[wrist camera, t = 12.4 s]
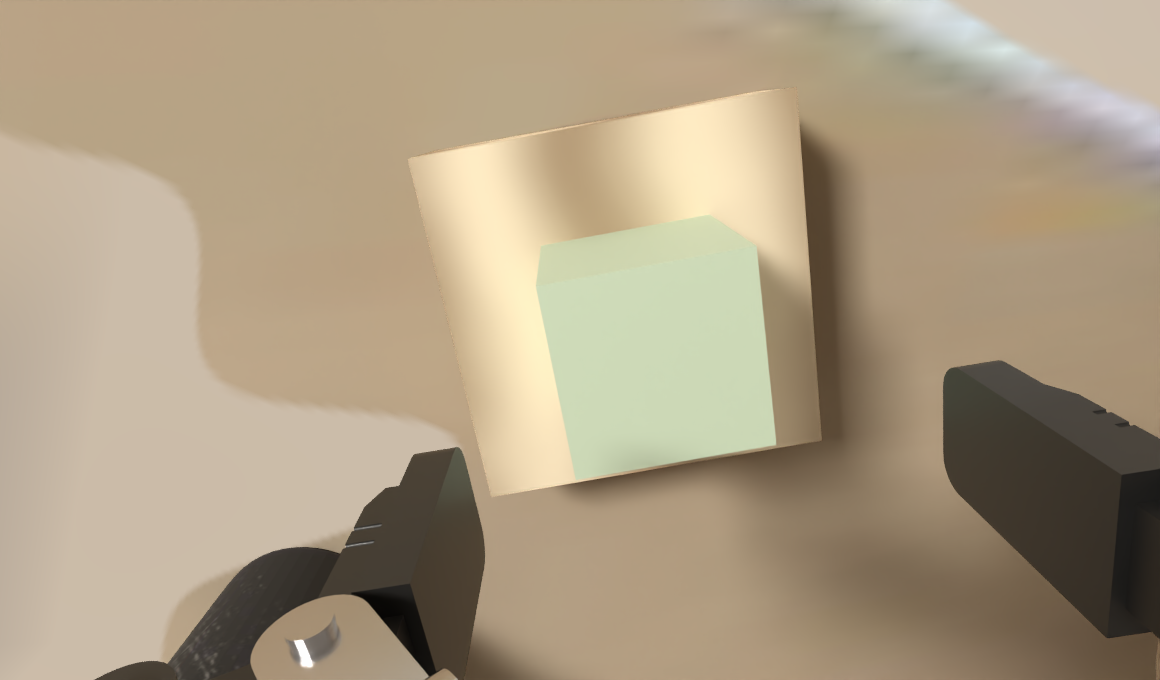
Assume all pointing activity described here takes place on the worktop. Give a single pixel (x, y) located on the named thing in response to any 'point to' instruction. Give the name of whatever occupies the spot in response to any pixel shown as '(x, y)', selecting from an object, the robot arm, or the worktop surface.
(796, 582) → the worktop surface
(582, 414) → the cube
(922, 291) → the worktop surface
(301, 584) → the travel mug
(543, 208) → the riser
